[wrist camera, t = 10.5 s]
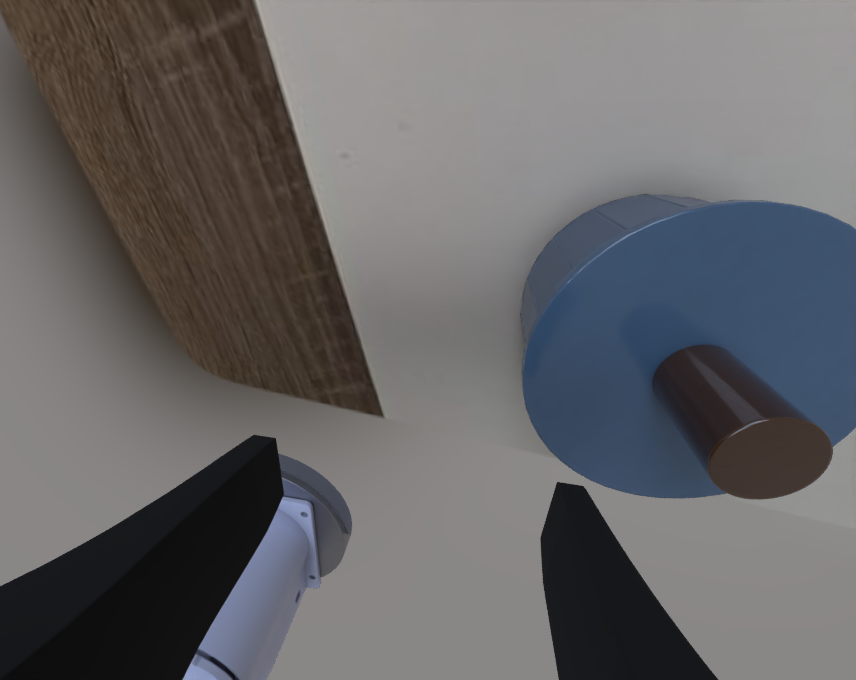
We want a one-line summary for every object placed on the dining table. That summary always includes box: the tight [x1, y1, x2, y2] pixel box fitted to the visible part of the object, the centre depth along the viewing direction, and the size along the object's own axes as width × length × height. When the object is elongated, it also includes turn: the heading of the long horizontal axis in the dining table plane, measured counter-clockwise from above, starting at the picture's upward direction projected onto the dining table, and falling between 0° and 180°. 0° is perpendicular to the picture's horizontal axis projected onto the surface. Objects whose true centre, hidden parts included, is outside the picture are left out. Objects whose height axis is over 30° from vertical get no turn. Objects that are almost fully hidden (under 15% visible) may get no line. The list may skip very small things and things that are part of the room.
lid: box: [522, 200, 856, 499], centre depth 11 cm, size 10×10×5 cm
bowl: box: [520, 194, 710, 345], centre depth 15 cm, size 9×9×6 cm
